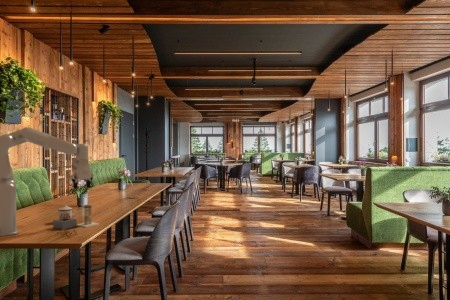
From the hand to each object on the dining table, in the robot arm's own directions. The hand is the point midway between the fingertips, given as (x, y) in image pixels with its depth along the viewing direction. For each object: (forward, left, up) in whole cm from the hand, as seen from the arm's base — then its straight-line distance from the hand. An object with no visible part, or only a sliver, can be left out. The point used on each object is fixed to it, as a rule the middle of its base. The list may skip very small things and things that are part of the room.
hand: (82, 188), depth 237 cm
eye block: (-10, +4, -25) cm, 27 cm away
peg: (+2, -3, -24) cm, 24 cm away
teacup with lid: (+2, +19, -25) cm, 31 cm away
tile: (+2, -3, -25) cm, 25 cm away
